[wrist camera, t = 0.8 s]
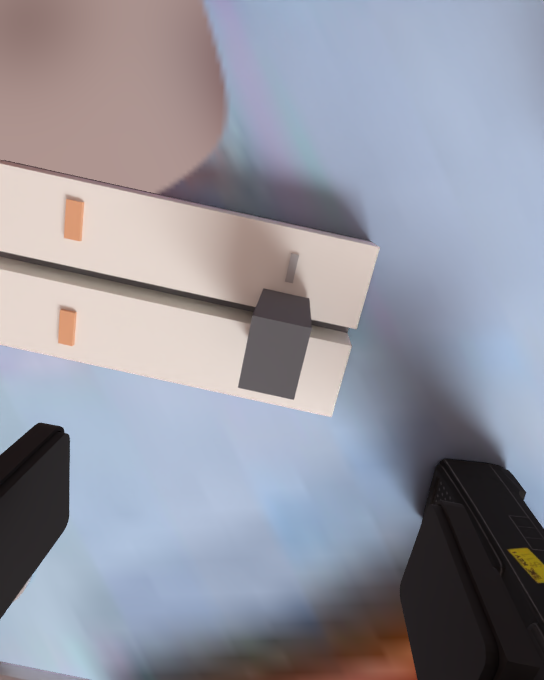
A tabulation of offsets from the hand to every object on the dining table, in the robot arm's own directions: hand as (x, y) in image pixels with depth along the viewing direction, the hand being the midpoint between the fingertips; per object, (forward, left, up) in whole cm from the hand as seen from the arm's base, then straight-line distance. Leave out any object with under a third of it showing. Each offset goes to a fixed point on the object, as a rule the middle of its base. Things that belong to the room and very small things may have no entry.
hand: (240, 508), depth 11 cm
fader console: (0, +8, -23) cm, 24 cm away
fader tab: (0, 0, -21) cm, 21 cm away
